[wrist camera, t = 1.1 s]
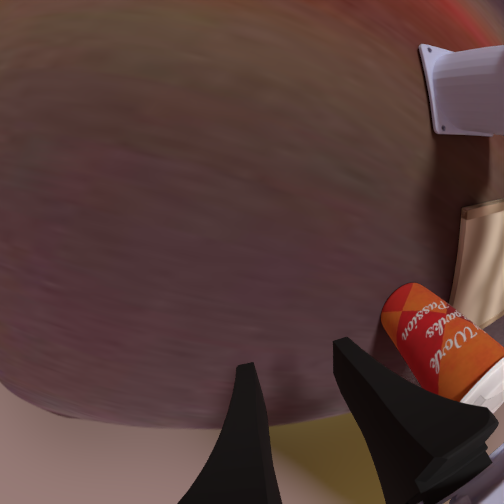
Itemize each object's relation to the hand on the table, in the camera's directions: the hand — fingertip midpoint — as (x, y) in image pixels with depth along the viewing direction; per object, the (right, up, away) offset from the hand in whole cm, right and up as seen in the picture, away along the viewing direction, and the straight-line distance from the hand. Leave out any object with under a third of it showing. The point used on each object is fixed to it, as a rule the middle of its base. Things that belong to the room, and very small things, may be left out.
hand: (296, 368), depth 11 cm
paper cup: (+13, -1, +13) cm, 19 cm away
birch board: (+27, +3, +14) cm, 31 cm away
